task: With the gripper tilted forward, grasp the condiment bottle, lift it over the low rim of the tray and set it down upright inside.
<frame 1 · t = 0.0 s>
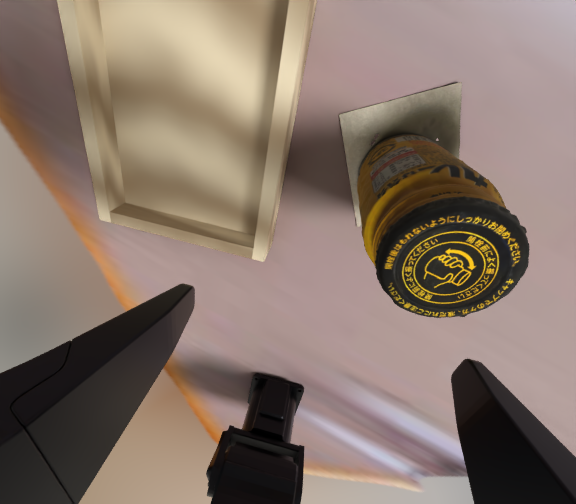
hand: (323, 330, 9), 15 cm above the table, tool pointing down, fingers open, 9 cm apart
condiment: (400, 163, 20), on the table
tray: (198, 116, 21), on the table
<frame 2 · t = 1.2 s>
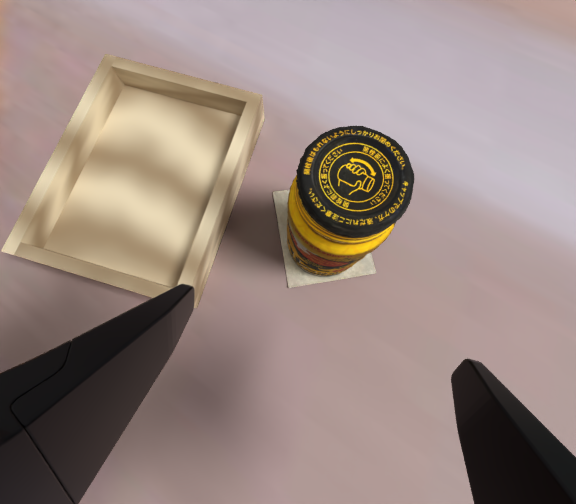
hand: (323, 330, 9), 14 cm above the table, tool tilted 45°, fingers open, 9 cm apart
condiment: (322, 232, 24), on the table
tray: (157, 184, 25), on the table
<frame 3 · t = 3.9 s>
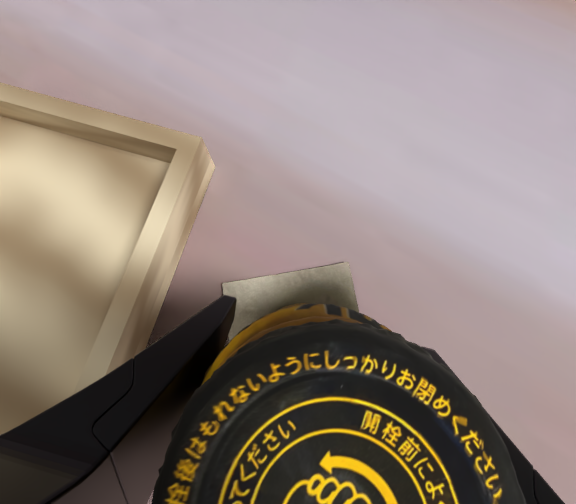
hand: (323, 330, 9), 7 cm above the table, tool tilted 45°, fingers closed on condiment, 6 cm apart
condiment: (298, 348, 16), on the table, touching gripper
tray: (45, 272, 16), on the table
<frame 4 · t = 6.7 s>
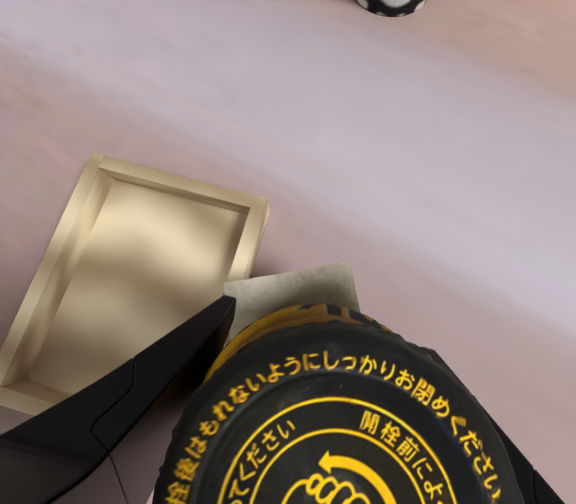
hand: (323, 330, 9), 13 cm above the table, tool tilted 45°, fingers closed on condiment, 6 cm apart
condiment: (299, 347, 16), point 6 cm above the table, touching gripper
tray: (153, 293, 22), on the table
when the fingers open (9 cm above the table, at t = 9.2 s): condiment drops 1 cm, resting on tray.
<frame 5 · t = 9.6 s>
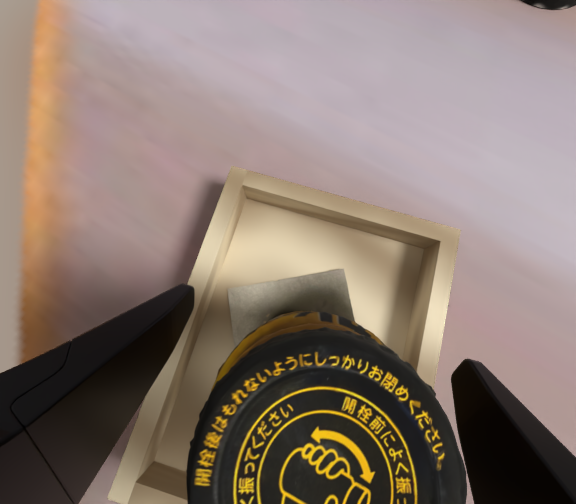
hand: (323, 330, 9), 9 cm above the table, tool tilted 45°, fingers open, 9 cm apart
condiment: (297, 348, 17), point 1 cm above the table, touching tray
tray: (299, 344, 18), on the table
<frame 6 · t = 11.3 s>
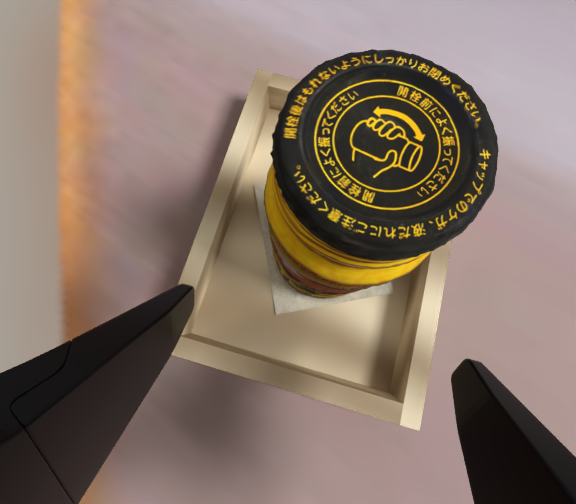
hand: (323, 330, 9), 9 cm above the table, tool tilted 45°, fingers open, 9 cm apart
condiment: (320, 238, 18), point 1 cm above the table, touching tray
tray: (320, 239, 19), on the table
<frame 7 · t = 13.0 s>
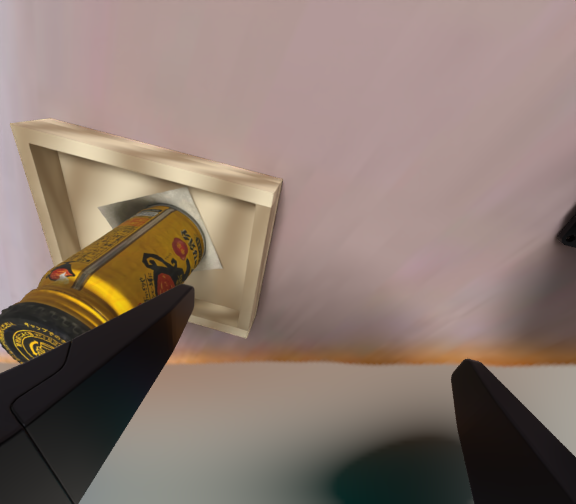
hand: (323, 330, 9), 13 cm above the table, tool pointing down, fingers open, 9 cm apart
condiment: (164, 235, 24), point 1 cm above the table, touching tray
tray: (167, 230, 24), on the table
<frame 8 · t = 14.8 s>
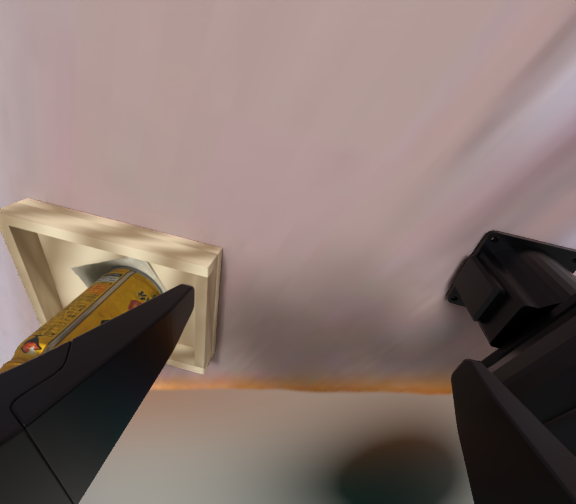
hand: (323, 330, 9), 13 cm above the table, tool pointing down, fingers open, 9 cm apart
condiment: (129, 289, 28), point 1 cm above the table, touching tray
tray: (132, 283, 28), on the table
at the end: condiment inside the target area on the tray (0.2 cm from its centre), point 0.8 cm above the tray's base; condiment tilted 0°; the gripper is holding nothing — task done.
